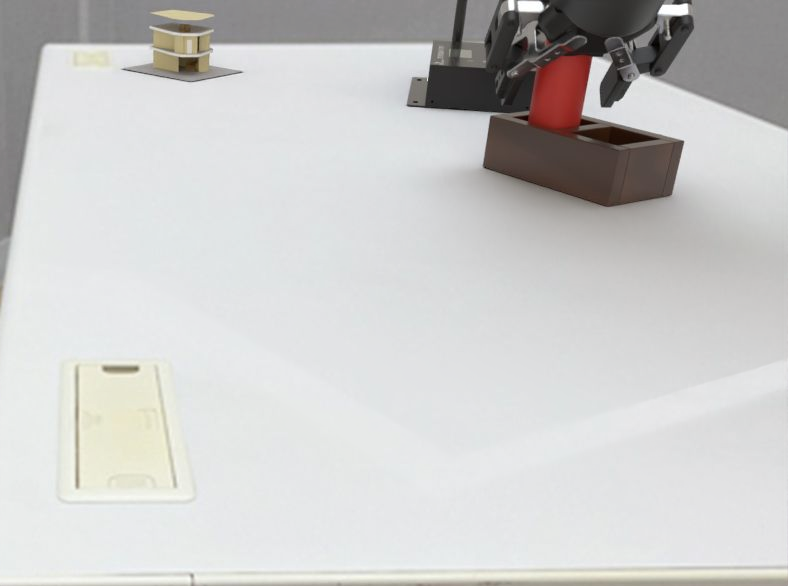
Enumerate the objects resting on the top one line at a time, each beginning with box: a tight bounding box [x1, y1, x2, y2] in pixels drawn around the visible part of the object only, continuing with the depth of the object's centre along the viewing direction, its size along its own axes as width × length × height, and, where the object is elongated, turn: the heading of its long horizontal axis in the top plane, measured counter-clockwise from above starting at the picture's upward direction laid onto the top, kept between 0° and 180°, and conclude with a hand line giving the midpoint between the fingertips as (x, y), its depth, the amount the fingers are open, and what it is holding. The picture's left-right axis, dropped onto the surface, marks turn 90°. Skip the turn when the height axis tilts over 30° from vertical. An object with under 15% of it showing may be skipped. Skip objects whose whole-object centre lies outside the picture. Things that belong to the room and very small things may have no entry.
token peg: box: [528, 38, 593, 129], centre depth 94 cm, size 4×4×10 cm
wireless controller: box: [406, 0, 537, 113], centre depth 121 cm, size 20×14×17 cm
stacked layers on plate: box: [120, 9, 244, 82], centre depth 130 cm, size 10×9×6 cm
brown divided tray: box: [482, 111, 685, 207], centre depth 94 cm, size 7×13×4 cm, turn 32°
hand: (554, 96), depth 95 cm, fingers open, 7 cm apart
